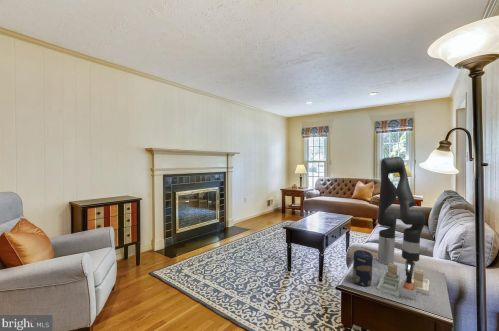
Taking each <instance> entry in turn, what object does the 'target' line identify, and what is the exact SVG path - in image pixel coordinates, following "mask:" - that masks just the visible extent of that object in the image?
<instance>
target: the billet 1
mask: <svg viewBox="0 0 499 331" xmlns="http://www.w3.org/2000/svg"><path fill="white" fill-rule="evenodd" d="M387 265H388V264H387ZM387 272H388V277H390V278H393V279H397V275H398V264H394V263H393V264H391V263H389V265H388V266H387Z"/></svg>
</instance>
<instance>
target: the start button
mask: <svg viewBox="0 0 499 331" xmlns="http://www.w3.org/2000/svg"><path fill="white" fill-rule="evenodd" d="M403 282H404V288H407V289H411V290H413V286H414V283H413V282H411V284H410V283H407V282H406V280H403Z"/></svg>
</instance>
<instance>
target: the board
mask: <svg viewBox="0 0 499 331" xmlns="http://www.w3.org/2000/svg"><path fill="white" fill-rule="evenodd" d="M401 282H404V279H403V278H401V275H400V274H397V279H393V278H390V277H388V271H385V273H382V276H381V277H380V280H379V282H378V284H377V287H376V290H377V291H380V292H383V293H385V294H389V295H392V296H396V297H400V295H399V293H400V285H401Z"/></svg>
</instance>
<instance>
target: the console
mask: <svg viewBox="0 0 499 331" xmlns="http://www.w3.org/2000/svg"><path fill="white" fill-rule="evenodd" d="M417 295H418V292H417V286H413V290H411V289H407V288H404V281H403V282H401V285H400V293H399V296H401V297H404V298H408V299H411V300H413V301H416V300H417V297H418V296H417Z"/></svg>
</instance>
